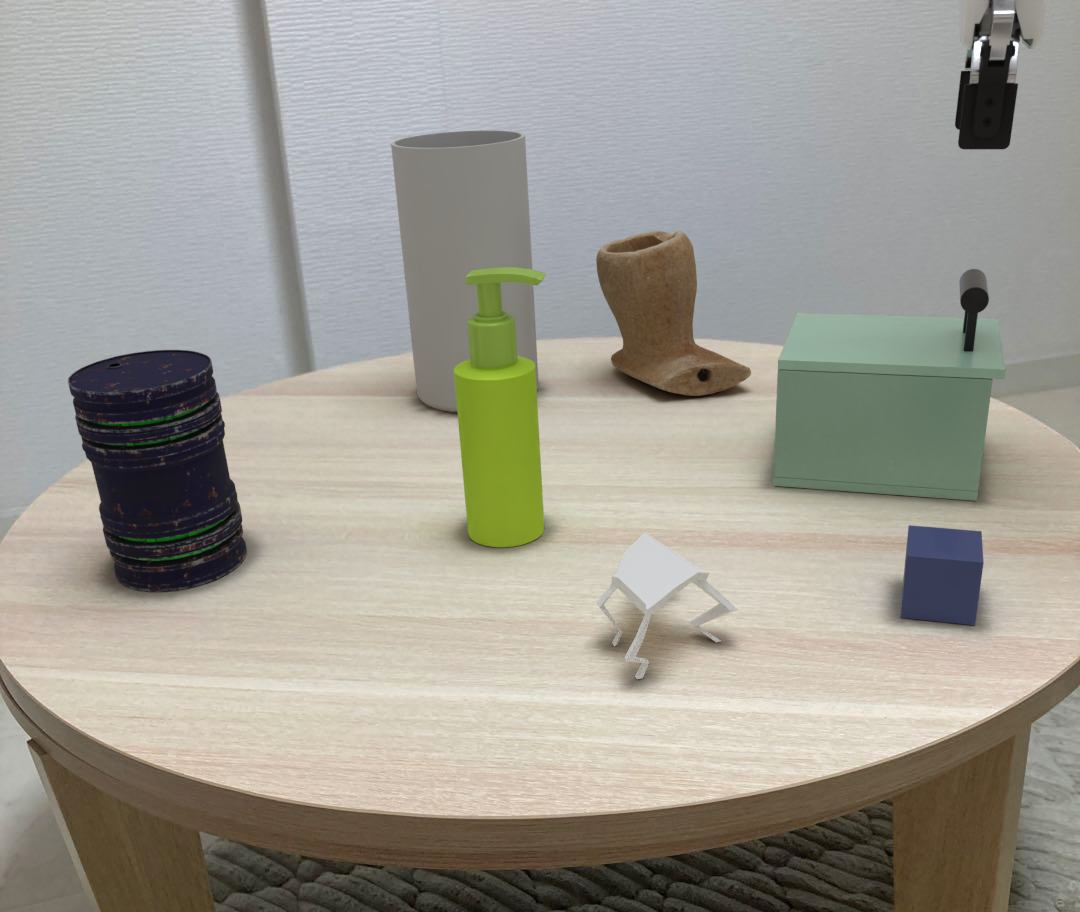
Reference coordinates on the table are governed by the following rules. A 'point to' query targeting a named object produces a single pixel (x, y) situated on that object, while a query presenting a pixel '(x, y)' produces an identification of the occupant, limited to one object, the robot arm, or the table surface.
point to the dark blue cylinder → (160, 468)
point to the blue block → (942, 575)
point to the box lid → (901, 341)
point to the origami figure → (658, 588)
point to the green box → (881, 433)
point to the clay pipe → (660, 315)
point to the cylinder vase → (460, 244)
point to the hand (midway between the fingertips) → (980, 138)
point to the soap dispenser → (499, 420)
